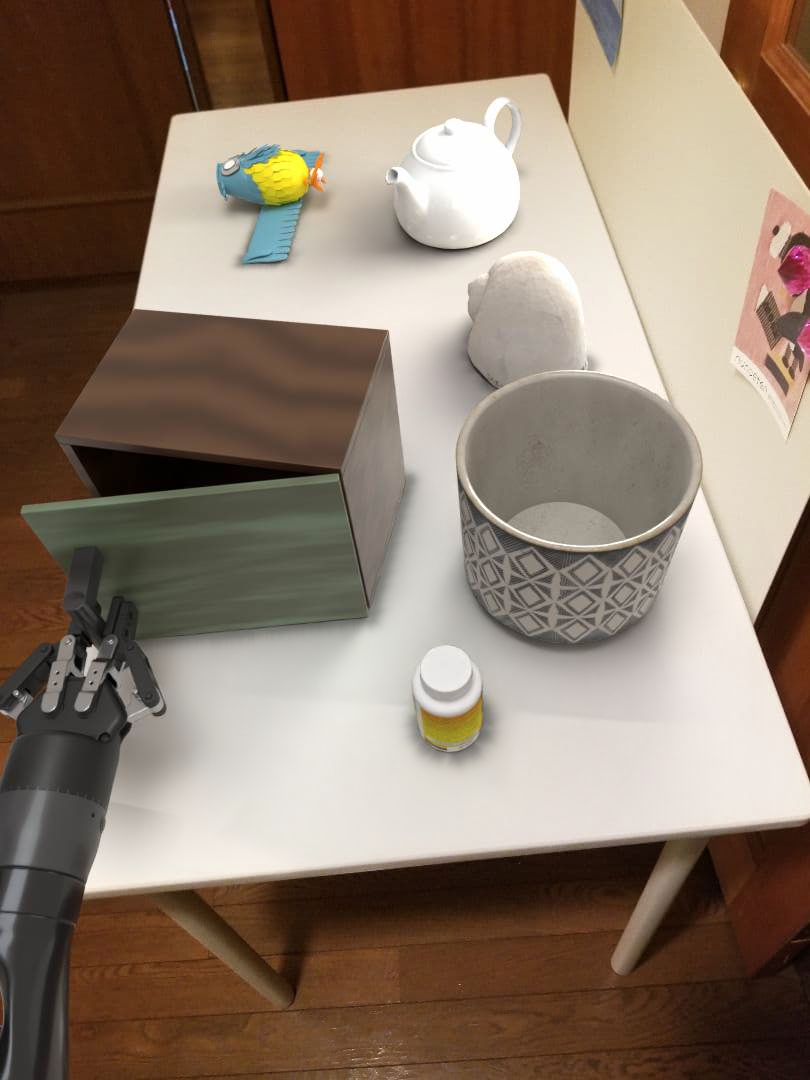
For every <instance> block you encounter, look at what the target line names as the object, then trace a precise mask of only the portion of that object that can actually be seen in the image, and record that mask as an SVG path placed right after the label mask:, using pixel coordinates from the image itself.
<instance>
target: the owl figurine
mask: <svg viewBox="0 0 810 1080" xmlns="http://www.w3.org/2000/svg"><path fill="white" fill-rule="evenodd" d="M280 146H281V144H276V143H274V144H272V145H269V143H267V144H264V145H263V146H260V147H258V146H255V147H254V148H253V149H251V151H249V152H247V153H246V152H242V153H241V154H235V155H233V156H230V157H228V158H227V159H226V160H225V161H224V162H221V163H220V162H217V163H216V170H215V172H216V174H215V175H216V176H215V177H216V182H217V187H218V190H219V193H220V195H221V196H222V197H223V199H224V201H225V202H228V200H229V197H228V196H231V197H234V198H237V199H240V200H242V201H248V202H251V203H255V204H260V205H262V206H261V209H260V212H259V216H258V218H257V221H256V225H255V228H254V231H253V234H252V237H251V240H250V243H249V245H248V249H247V252H246V253H245V254H244V255H243V256H242V262H241V264H242V265H246V264H247V265H248V264H266V263H272V262H281V261H285V260H286V259H287V258H288V254H287V253H290V251H291V248H290V246H291V245H292V243H293V242H292V240H290V239H293V238H294V233H293V232H295V231H296V228H295V227H296V225H298V224H297V221H298V219H299V215H298V214H300V212H301V210H300V209H301V208H302V206H303V205H302V202H304V198H303V196H305V195H306V194H307V192H308V190H309V187H310V186H311V187H312V188H313V189H314V190H317V191H319V192H321V193H324V192H325V191H324V189H323V187H322V186H321V185H320V183H319V182H322V184H324V185H327V183H326V180H325V177H324V173H323V170H322V165H323V158H324V155H325V151H323V152H321V151H318V150H316V151H305V150H303V149H292V150H289V149H286V148H282V147H280ZM296 220H297V221H296Z"/></svg>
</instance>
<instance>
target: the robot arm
mask: <svg viewBox="0 0 810 1080" xmlns="http://www.w3.org/2000/svg"><path fill="white" fill-rule="evenodd" d="M95 608H96V610H97V611H98V612H99V614H100V615H101V606H100V604H99V603H98V601H97V600H96V606H95ZM134 617H135V615H134V611H133V609H132V608H131V606H130V605H129V603H128V602H127V601H126V599H125V598H124V596H114V597H113V598H112V602H111V606H110V609H109V613H108V617H107V620H106V624H105V628H104V631H103V634H104V636H105V637H104V639H103V641H102V644H101V646H100V649H99V651H98V652H97V655H96V658H93V659H92V660H91V662H90V665H89V667H88V671H87V673H86V675H85V670H86V669H85V668H86V664H87V659H88V651H87V650H88V649H87V648H92V647H93V646H94V645H93V644H92V643H91V641H90V640H89V639H88V638H87V636H86V635H85V634H84V633H83V631H82V630H81V629H80V628H79V627H78V625H77V624H76V623H75V622H74V620H73V619H72V618H71V620H70V623H69V626H68V630H67V632H66V635H64V636H63V637H62V638H61V640H60V641H58V642H55V643H50V642H48V641H44V642H42V643H40V644H39V645H38V646H37V647H36V648H35V649H34V650H33V651H32V652H31V653H30V654H29V656H27V658H26V659H25V660H24V661H23V662H22V663H21V664H20V665H19V666H18V667H17V668H16V669H15V670H14V672H13V673H11V675H10V676H9V677H8V678H7V679H6V681H4V682H3V684H1V686H0V713H1V714H2V715H4V716H5V718H7V719H10V720H11V719H13V720H15V724H14V725H15V729H16V738H15V739H14V740H13V741H12V742H11V744H10V748H9V751H8V753H7V757H6V760H5V763H4V766H3V769H2V773H1V776H0V996H1V1000H2V1001H1V1002H2V1014H3V1015H2V1016H3V1019H2V1025H0V1080H71V1077H72V1076H71V1075H72V1054H71V1053H72V1052H71V1051H72V1048H71V1046H72V1045H71V1028H70V1027H71V1025H70V1024H71V1023H70V1019H71V1018H70V1017H71V1016H70V994H71V993H70V992H71V990H70V989H71V983H70V981H71V956H72V945H73V941H74V937H75V932H76V930H77V929H76V928H77V926H78V925H77V924H78V921H79V916H80V911H81V907H82V903H83V899H84V895H85V890H86V885H87V882H88V879H89V875H90V872H91V870H92V867H93V865H94V862H95V859H96V856H97V854H98V850H99V847H100V843H101V838H102V835H103V833H104V830H105V828H106V824H107V823H106V822H107V819H106V817H107V814H108V808H109V805H110V800H111V795H112V791H113V787H114V782H115V778H116V774H117V770H118V765H119V761H120V754H121V746H122V743H123V742H124V740H125V739H126V737H127V736H128V734H129V733H130V732H131V730H132V727H133V723H135V722H138V721H139V720H141V719H143V718H145V717H147V716H149V715H152V716H153V717H155V718H160V717H162V716H164V715H166V712H167V709H168V707H167V703H166V701H165V699H164V696H163V693H162V691H161V688H160V686H159V684H158V680H157V678H156V675H155V673H154V671H153V668H152V666H151V662H150V661H149V660H150V659H149V658H148V656H147V655H146V653H145V652H144V651H143V649H142V648H141V646H140V645H139V644H138V642H137V641H129V638H130V634H131V629H132V625H133V621H134ZM125 663H128V666H129V667H128V668H129V671H130V675H131V677H132V678H133V679H132V680H133V682H134V685H135V687H134V688H132V689H131V693H130V695H129V699H130V700H129V704H128V705H127V706H126V704H125V703H124V701H123V699H122V696H120V691H121V688H122V684H123V681H124V680H123V679H124V678H123V672H124V670H123V669H124V666H125ZM44 687H45V688H44ZM43 688H44V689H43Z"/></svg>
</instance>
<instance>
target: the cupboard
mask: <svg viewBox="0 0 810 1080" xmlns="http://www.w3.org/2000/svg"><path fill="white" fill-rule="evenodd" d="M390 338H391V337H390V331H389V329H382V328H372V327H371V328H367V327H357V326H346V325H335V324H334V325H333V324H321V323H310V322H309V323H308V322H299V321H288V320H287V321H286V320H275V319H261V318H252V317H251V318H249V317H239V316H238V317H237V316H228V315H226V316H225V315H216V314H215V315H214V314H204V313H203V314H202V313H192V312H191V313H190V312H180V311H179V312H177V311H167V310H166V311H165V310H155V309H143V308H142V309H141V308H134V309H133V310H132V312H131V313H130V315H129V316H128V318H127V320H126V321H125V323H124V324H123V326H122V327H121V329H120V331H119V333H118V334H117V336H116V337H115V339H114V340H113V342H112V344H111V345H110V347H109V348H108V349H107V351H106V353H105V355H104V356H103V357H102V358H101V361H100V362H99V364H98V366H97V367H96V369H95V370H94V372H93V374H92V375H91V377H90V378H89V380H88V381H87V383H86V384H85V386H84V387H83V389H82V391H81V392H80V394H79V396H77V399H76V400H75V402H74V403H73V405H72V407H71V408H70V410H69V412H68V413H67V414H66V416H65V417H64V419H63V421H62V423H61V424H60V425H59V427H58V429H57V431H56V432H55V433H54V437H55V439H56V440H57V442H58V443H59V446H60V447H61V449H62V451H63V453H64V454H65V455H66V457H67V459H68V460H69V462H70V463H71V465H72V467H73V468H74V470H75V471H76V474H77V475H78V476H79V478H80V480H81V481H82V483H83V484H84V486H85V488H86V489H87V491H88V493H89V494H90V496H91V497H92V498H102V497H112V496H121V495H131V494H141V493H151V492H161V491H170V490H180V489H190V488H200V487H209V486H219V485H229V484H239V483H249V482H258V481H268V480H278V479H288V478H298V477H307V476H317V475H327V474H337V473H338V474H339V478H340V483H341V487H342V492H343V496H344V501H345V506H346V510H347V515H348V519H349V524H350V529H351V533H352V538H353V542H354V547H355V552H356V556H357V561H358V565H359V570H360V575H361V579H362V584H363V588H364V593H365V598H366V602H367V607H368V609H369V608H371V606H372V602H373V600H374V595H375V592H376V588H377V585H378V582H379V577H380V575H381V571H382V568H383V564H384V561H385V557H386V553H387V550H388V546H389V543H390V539H391V535H392V532H393V529H394V525H395V522H396V518H397V515H398V511H399V507H400V504H401V500H402V497H403V492H404V490H405V486H406V482H407V477H406V469H405V461H404V460H405V459H404V450H403V443H402V434H401V425H400V417H399V416H400V415H399V408H398V397H397V390H396V383H395V382H396V381H395V374H394V372H395V371H394V364H393V356H392V355H393V354H392V348H391V347H392V346H391V339H390Z"/></svg>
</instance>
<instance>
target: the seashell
mask: <svg viewBox="0 0 810 1080" xmlns="http://www.w3.org/2000/svg"><path fill="white" fill-rule="evenodd" d="M467 296H468V300H467V312H468V313H467V314H468V316H469V318H470V320H471V321H472V323H473V325H472V328H471V332H470V333H469V334H470V335H469V337H468V341H467V354H468V357H469V358H470V361H471V363H472V365H473V366H474V367H475V368H476V369H477V370H478V371H479V372H480V374H482V376H483V377H484V378H485V379H486V380H487V381H488V382H489V383H490V384H491V385H492V386H493V387H495V388H497V389H500V388H501V387H503V386H505V385H507V384H509V383H512V382H514V381H516V380H519V379H522V378H525V377H528V376H531V375H535V374H540V373H545V372H552V371H563V370H582V371H588V368H589V362H588V357H587V349H586V348H587V347H586V335H585V332H586V331H585V330H586V329H585V320H584V319H585V318H584V312H583V311H584V310H583V305H582V300H581V297H580V293H579V289H578V287H577V285H576V283H575V281H574V279H573V277H572V275H571V274H570V272H569V271H568V269H567V268H566V267H565V265H564V264H563V263H561V262H560V261H559V260H558V259H556V258H555V257H553V256H551V255H548V254H546V253H542V252H538V251H534V250H526V251H525V250H523V251H522V250H521V251H516V252H513V253H509V254H507V255H504V256H502V257H501V258H499V259H498V260H497V261H495V262H494V263H493V264H492V266H491V267H490V269H488V271H487V272H486V273H482V274H480V275H477V276H476V277H475V278H474V279H473V280H471V281H470V282H469V283H468V284H467Z"/></svg>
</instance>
